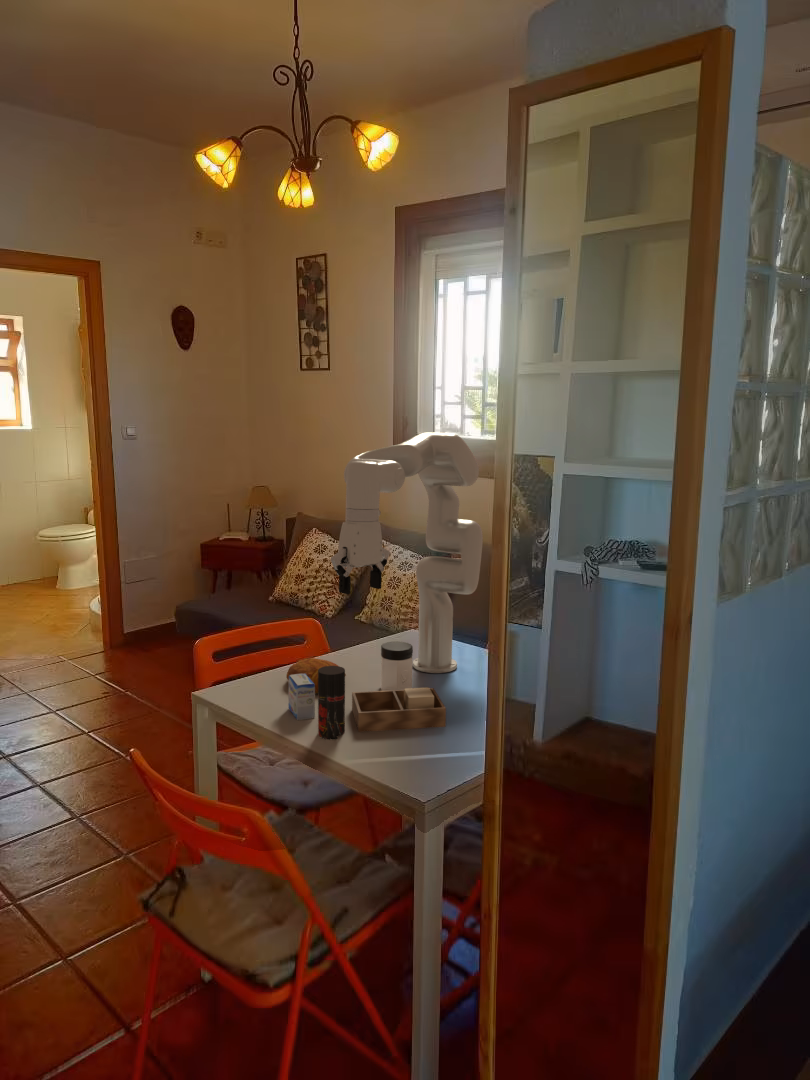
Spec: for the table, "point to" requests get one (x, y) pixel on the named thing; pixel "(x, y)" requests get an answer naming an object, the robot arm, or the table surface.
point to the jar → (396, 666)
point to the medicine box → (301, 696)
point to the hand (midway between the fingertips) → (360, 590)
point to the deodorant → (331, 702)
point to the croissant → (309, 669)
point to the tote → (394, 712)
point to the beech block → (418, 698)
